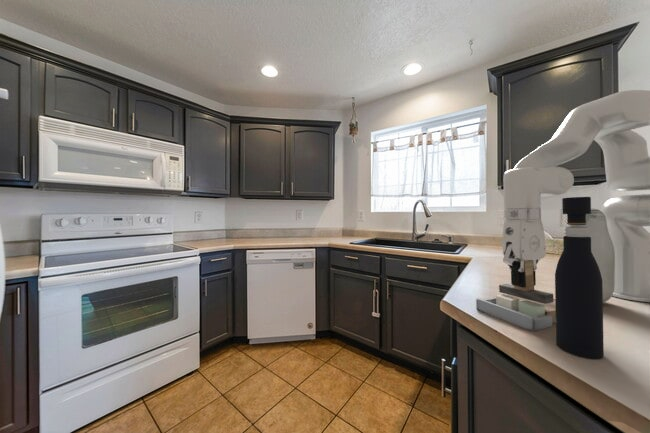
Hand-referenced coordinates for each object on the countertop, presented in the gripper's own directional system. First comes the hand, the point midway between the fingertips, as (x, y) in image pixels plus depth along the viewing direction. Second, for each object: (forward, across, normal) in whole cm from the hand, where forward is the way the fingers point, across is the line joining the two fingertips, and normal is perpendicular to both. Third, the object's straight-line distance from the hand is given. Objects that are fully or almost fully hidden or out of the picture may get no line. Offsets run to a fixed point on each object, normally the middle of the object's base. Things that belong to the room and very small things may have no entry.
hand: (523, 284), depth 63 cm
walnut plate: (+8, +5, 0) cm, 10 cm away
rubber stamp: (+3, 0, 0) cm, 3 cm away
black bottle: (+8, -8, -14) cm, 18 cm away
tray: (+8, -4, 0) cm, 9 cm away
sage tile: (+6, -1, -3) cm, 7 cm away
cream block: (+6, -1, +2) cm, 6 cm away
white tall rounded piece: (+8, +27, 0) cm, 29 cm away
